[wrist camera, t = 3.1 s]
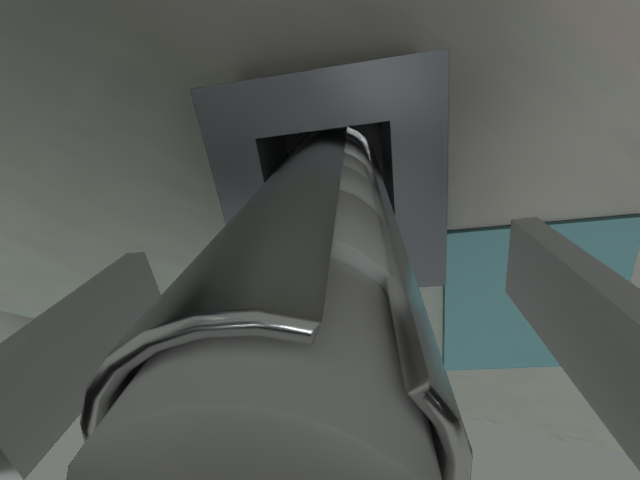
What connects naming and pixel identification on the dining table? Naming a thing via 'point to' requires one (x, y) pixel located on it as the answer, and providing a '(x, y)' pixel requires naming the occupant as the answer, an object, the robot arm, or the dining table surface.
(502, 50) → the dining table surface
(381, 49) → the dining table surface
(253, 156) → the grey hollow square block
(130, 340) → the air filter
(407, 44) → the dining table surface
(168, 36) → the dining table surface
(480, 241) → the teal mat
